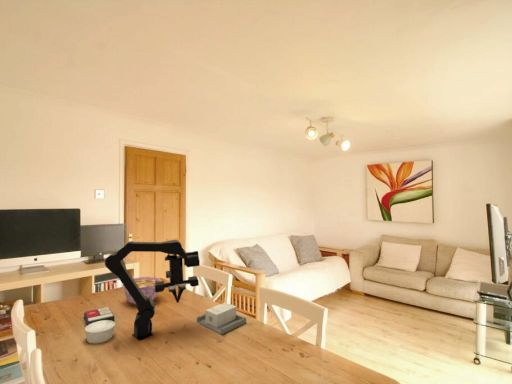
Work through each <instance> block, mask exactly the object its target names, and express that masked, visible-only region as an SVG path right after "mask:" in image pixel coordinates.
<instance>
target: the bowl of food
mask: <svg viewBox="0 0 512 384" xmlns="http://www.w3.org/2000/svg"><path fill="white" fill-rule="evenodd" d="M133 279H134V281H135V282H136V284H137V285H138V287H139V288H140V290H141V291H142V293H143V294H144V295H145V296H146V297H149V296H151V298H152V300H153V301H154V300H155V299H156V297H157V296H158V294H159V292H155V283H156V282H160V281H162V280H161V278H159V277H154V276H141V277H134V278H133ZM122 286H123V287H122V288H123V290H124V295H125V299H126V300H127V301H128V302H129V303H131V304H134V305H136V302H135V301H134V299H133V298H132V297H131V295H130V294H129V292H128V291H127V289H126V288H125V286H124V285H123V284H122ZM136 306H137V305H136Z"/></svg>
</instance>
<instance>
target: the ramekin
mask: <svg viewBox="0 0 512 384" xmlns="http://www.w3.org/2000/svg"><path fill="white" fill-rule="evenodd" d="M115 327H116V322H115V321H114V322H113V321H110V320H102V321H97V322H94V323H91V324H89V325H88V326H86V327H85V328H84V333H85V336H86V341H87V342H88V343H89V344H96V345H97V344H102V343H105V342H107V341H109V340H110V339H111V338H112V337H113V334H114V332H115Z"/></svg>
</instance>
